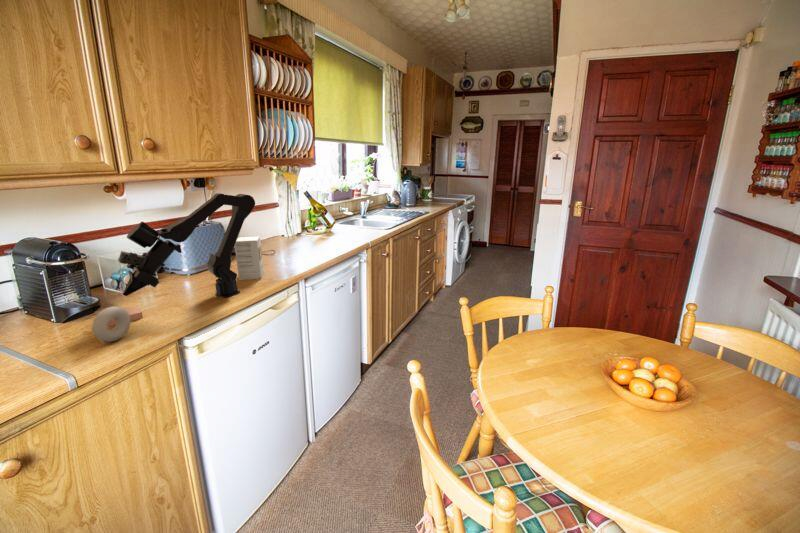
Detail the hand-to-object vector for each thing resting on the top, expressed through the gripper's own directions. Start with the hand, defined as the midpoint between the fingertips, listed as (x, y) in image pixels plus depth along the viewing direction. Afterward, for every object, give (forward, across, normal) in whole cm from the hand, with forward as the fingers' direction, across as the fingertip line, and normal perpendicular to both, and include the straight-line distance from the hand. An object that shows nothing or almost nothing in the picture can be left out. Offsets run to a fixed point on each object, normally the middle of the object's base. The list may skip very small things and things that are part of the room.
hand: (124, 295), depth 120 cm
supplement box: (-28, -15, +39) cm, 50 cm away
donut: (+9, +17, +2) cm, 20 cm away
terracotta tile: (+2, 0, +7) cm, 8 cm away
